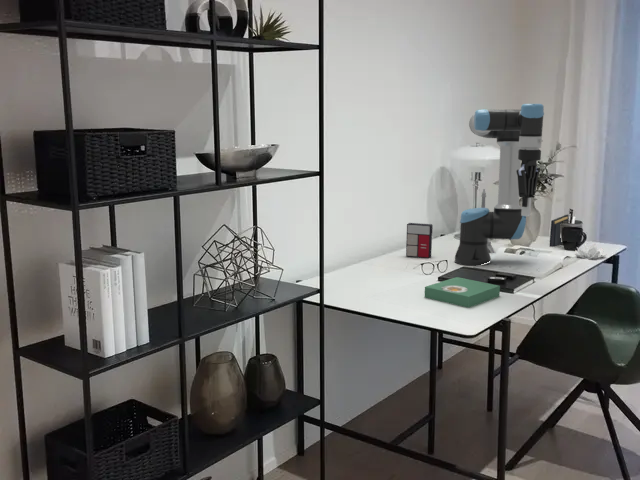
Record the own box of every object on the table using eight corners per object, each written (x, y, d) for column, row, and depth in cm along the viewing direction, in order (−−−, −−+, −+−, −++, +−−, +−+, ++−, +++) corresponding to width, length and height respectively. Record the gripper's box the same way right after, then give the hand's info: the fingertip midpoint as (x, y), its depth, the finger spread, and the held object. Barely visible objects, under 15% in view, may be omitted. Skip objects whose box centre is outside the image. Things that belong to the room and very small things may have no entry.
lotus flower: (607, 268, 280) (609, 247, 278) (569, 264, 286) (571, 245, 284) (607, 261, 293) (609, 241, 291) (571, 258, 299) (573, 239, 297)
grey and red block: (405, 256, 301) (406, 224, 298) (408, 254, 305) (408, 222, 302) (429, 258, 296) (430, 225, 294) (431, 256, 300) (432, 224, 298)
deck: (424, 297, 235) (424, 286, 234) (456, 287, 248) (456, 276, 248) (468, 308, 222) (468, 296, 221) (499, 296, 236) (499, 285, 235)
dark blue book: (552, 251, 313) (555, 219, 310) (548, 250, 314) (551, 219, 311) (568, 245, 328) (571, 214, 325) (564, 244, 329) (567, 214, 326)
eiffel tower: (465, 249, 317) (468, 187, 311) (493, 250, 315) (497, 187, 309) (467, 255, 304) (470, 190, 298) (497, 256, 302) (500, 191, 296)
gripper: (530, 150, 224) (526, 219, 228) (548, 148, 233) (544, 214, 237) (510, 149, 229) (506, 216, 234) (529, 147, 238) (525, 212, 243)
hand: (525, 215), depth 235 cm, fingers closed
